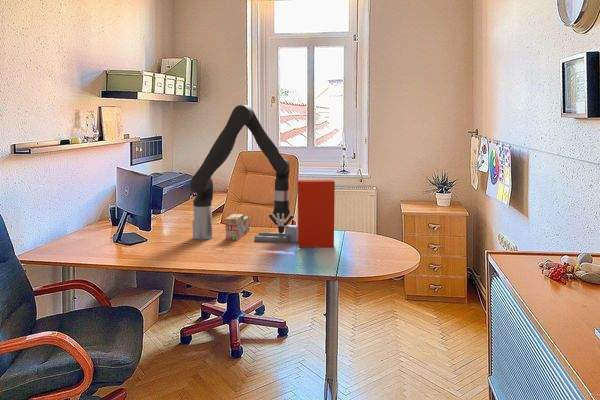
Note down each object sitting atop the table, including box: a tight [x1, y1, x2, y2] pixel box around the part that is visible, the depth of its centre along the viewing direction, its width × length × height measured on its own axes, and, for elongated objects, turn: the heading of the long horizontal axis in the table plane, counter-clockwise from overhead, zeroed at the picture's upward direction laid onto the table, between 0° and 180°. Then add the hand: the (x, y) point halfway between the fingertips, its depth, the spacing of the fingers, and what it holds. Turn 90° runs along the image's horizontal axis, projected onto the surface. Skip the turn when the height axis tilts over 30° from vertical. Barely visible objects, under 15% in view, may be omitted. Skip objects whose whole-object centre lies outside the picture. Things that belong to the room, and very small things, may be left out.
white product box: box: [224, 213, 250, 241], centre depth 255 cm, size 21×6×12 cm, turn 170°
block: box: [284, 224, 298, 243], centre depth 244 cm, size 6×6×7 cm
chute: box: [253, 231, 291, 244], centre depth 246 cm, size 18×9×5 cm, turn 80°
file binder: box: [297, 179, 336, 248], centre depth 236 cm, size 8×17×32 cm, turn 93°
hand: (281, 233), depth 245 cm, fingers closed
